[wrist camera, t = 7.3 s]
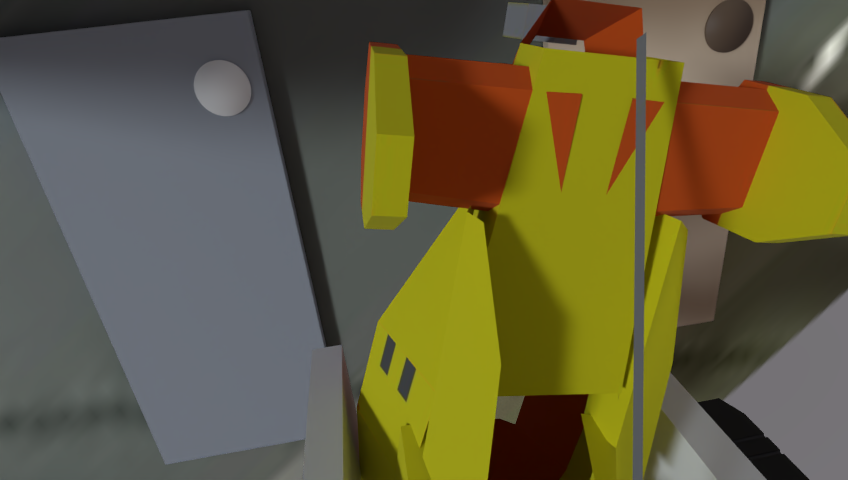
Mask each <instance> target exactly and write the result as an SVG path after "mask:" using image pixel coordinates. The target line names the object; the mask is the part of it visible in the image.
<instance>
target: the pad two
mask: <svg viewBox="0 0 848 480" xmlns="http://www.w3.org/2000/svg"><path fill="white" fill-rule="evenodd" d="M550 1H551V0H543V5H548V4H549V2H550ZM583 1H591V2H599V3H607V4H615V5H623V6H631V7H639V8H642V17H643V34H645V33H646V56H647V57H653V58H659V59H665V60H671V61H677V62H684V68H683V74H682V79H681V81H682V82H693V83H703V84H714V85H724V86H735V87H739V86H740V84H741V83H742V82H743V81H744V80H753V77H754V71H755V65H756V59H757V53H758V47H759V41H760V35H761V28H762V22H763V16H764V10H765V4H766V0H583ZM543 48H550V49H560V50H569V51H579V52H585V47H584V41H582V40H577V44H576V45H570V44H559V43H549V42H543ZM671 217H673V218H676V219H678V220H681V221H682V222H683V224H684V225H685V227H686V228H687V229H688V236H687V244H686V253H685V261H684V270H683V279H682V287H681V296H680V304H679V313H678V321H677V327H680V326H686V325H692V324H698V323H703V322H709V321H714V316H715V310H716V303H717V297H718V291H719V285H720V279H721V273H722V267H723V261H724V255H725V248H726V242H727V236H728V230H727V229H725V228H723V227H720V226H718V225H716V224H714V223H711V222H709V221H707V220H705V219H703V218H702V215H687V216H671Z"/></svg>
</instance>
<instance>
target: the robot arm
mask: <svg viewBox="0 0 848 480" xmlns="http://www.w3.org/2000/svg"><path fill="white" fill-rule="evenodd" d="M625 415H626V414H625ZM302 480H361V472H360V463H359V443H358V423H357V413H356V408H355V404H354V399H353V394H352V390H351V385H350V380H349V376H348V371H347V366H346V362H345V357H344V352H343V348H342V345H337V346H331V347H325V348H320V349H314V350H312V360H311V373H310V386H309V400H308V413H307V426H306V439H305V453H304V466H303V479H302ZM643 480H809V479H808V478H807V477H806V476H805V475H804V474H803V473H802V472H801V471H800V470H799V469H798V468H797V467H796V466H795V465H794V464H793V463H792V462H791V461H790V460H789V459H788V458H787V456H786V455H784V454H781V453H780V449H778V447H777V446H776V445H775V444H774V443H773V442H772V441H771V440H770V439H769V438H768V437H765V436H764V433H763V432H762V431H761V430H760V429H759V428H758V427H757V426H756V425H755V424H754V423H753V422H752V421H751V420H750V419H749V418H748V417H747V416H746V415H745V414H744V413H742V412H741V411H739V410H737V409H736V408H734V407H732V406H731V405H729V404H727V403H726V402H724V401H722V400H721V399H719V398H718V399H713V400H708V401H703V402H698V403H697V402H696V400H695V399H694V398H693V397H692V396H691V395H690V394H689V393H688V391H687V390H686V389H685V388H684V387H683V386H682V385H681V384H680V383H679V381H678V380H677V379H676V378H675V377H674V376H673V375H672V374H671V373H670V375H669V379H668V383H667V387H666V391H665V395H664V399H663V403H662V407H661V411H660V415H659V419H658V423H657V427H656V431H655V435H654V439H653V443H652V447H651V451H650V455H649V459H648V463H647V466H646V470H645V474H644V478H643Z"/></svg>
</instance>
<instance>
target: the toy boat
mask: <svg viewBox="0 0 848 480" xmlns="http://www.w3.org/2000/svg"><path fill="white" fill-rule="evenodd" d="M503 37H509V38H516V39H523V40H522V42H521V43H520V46H519V48H518V51H517V54H516V56H515V59H514V61H513V64H505V63H489V62H479V61H469V60H458V59H448V58H438V57H428V56H418V55H408V54H405V53H404V52H403V51H402V49H401V48H400V47H399V46H398V45H397V44H388V43H378V42H369V49H368V61H367V72H366V84H365V98H364V117H363V136H362V155H361V208H362V215H363V222H364V229H390V230H394V229H395V228H396V227H397V226H398V225H399V224H400V223H401V222H402V221H403V220H404V219H406V218H407V211H408V201H412V202H419V203H427V204H435V205H443V206H451V207H459V208H458V209H457V211H456V212H455V214H454V215H453V216H452V218H451V219H450V221H449V222H448V223H447V225H446V226H445V228H444V229H443V231H442V232H441V233H440V235H439V236H438V238H437V239H436V240H435V242H434V243H433V245H432V246H431V247H430V249H429V250H428V252H427V253H426V254H425V256H424V257H423V259H422V260H421V262H420V263H419V264H418V266H417V267H416V269H415V270H414V271H413V273H412V274H411V276H410V277H409V278H408V280H407V281H406V283H405V284H404V286H403V287H402V288H401V290H400V291H399V293H398V294H397V295H396V297H395V298H394V300H393V301H392V302H391V304H390V305H389V307H388V308H387V309H386V311H385V312H384V314H383V315H382V317H381V318H380V319H379V321H378V324H377V328H376V332H375V336H374V340H373V344H372V348H371V352H370V356H369V360H368V364H367V368H366V372H365V376H364V380H363V384H362V388H361V392H360V396H359V400H358V405H357V423H358V443H359V463H360V472H361V480H643V478H644V474H645V470H646V466H647V463H648V459H649V455H650V451H651V447H652V443H653V439H654V435H655V431H656V427H657V423H658V419H659V415H660V411H661V407H662V403H663V399H664V395H665V391H666V387H667V383H668V379H669V375H670V371H671V367H672V363H673V355H674V347H675V338H676V330H677V321H678V313H679V304H680V296H681V287H682V279H683V270H684V261H685V253H686V244H687V236H688V229H687V228H686V227H685V225H684V224H683V222H682V221H681V220H678V219H676V218H673V217H671V216H687V215H702V218H703V219H705V220H707V221H709V222H711V223H714V224H716V225H718V226H720V227H723V228H725V229H727V230H729V231H731V232H734V233H736V234H738V235H740V236H742V237H745V238H747V239H749V240H751V241H753V242H758V243H784V242H794V241H803V240H813V239H823V238H833V237H842V236H848V118H847V117H846V116H845V114H844V113H843V112H842V111H841V109H840V108H839V107H838V106H837V104H836V103H835V102H834V100H833V99H832V98H831V97H827V96H823V95H819V94H815V93H811V92H807V91H802V90H798V89H794V88H790V87H786V86H782V85H777V84H773V83H769V82H763V81H754V80H744V81H743V82H742V83H741V84H740V86H739V87H735V86H724V85H714V84H703V83H693V82H682V81H681V79H682V74H683V68H684V62H677V61H671V60H665V59H659V58H653V57H647V56H646V33H645V34H643V17H642V8H639V7H631V6H623V5H615V4H607V3H599V2H591V1H583V0H551V1H550V2H549V4H548V5H539V4H529V3H513V2H508V5H507V12H506V18H505V25H504V31H503ZM577 40H582V41H584V47H585V52H579V51H569V50H560V49H550V48H543V47H538V46H533V45H530V43H531V42H532V41H541V42H549V43H559V44H570V45H576V44H577ZM497 396H525V397H524V400H523V403H522V406H521V409H520V412H519V415H518V418H517V421H516V424H512V423H510V422H507V421H504V420H501V419H495V413H496V404H497ZM625 414H626V415H625Z"/></svg>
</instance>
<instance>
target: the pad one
mask: <svg viewBox="0 0 848 480" xmlns="http://www.w3.org/2000/svg"><path fill="white" fill-rule="evenodd" d="M0 92H1V95H2V97H3V99H4V101H5V104H6V106H7V108H8V110H9V113H10V115H11V117H12V119H13V122H14V124H15V126H16V129H17V131H18V133H19V135H20V138H21V140H22V142H23V144H24V147H25V149H26V151H27V153H28V156H29V158H30V160H31V162H32V165H33V167H34V169H35V171H36V174H37V176H38V178H39V180H40V183H41V185H42V187H43V189H44V192H45V194H46V196H47V198H48V201H49V203H50V205H51V207H52V210H53V212H54V214H55V216H56V219H57V221H58V223H59V225H60V228H61V230H62V232H63V234H64V237H65V239H66V241H67V244H68V246H69V248H70V250H71V253H72V255H73V257H74V259H75V262H76V264H77V266H78V268H79V271H80V273H81V275H82V277H83V280H84V282H85V284H86V286H87V289H88V291H89V293H90V295H91V298H92V300H93V302H94V304H95V307H96V309H97V311H98V313H99V316H100V318H101V320H102V322H103V325H104V327H105V329H106V331H107V334H108V336H109V338H110V340H111V343H112V345H113V347H114V349H115V352H116V354H117V356H118V359H119V361H120V363H121V365H122V368H123V370H124V372H125V374H126V377H127V379H128V381H129V383H130V386H131V388H132V390H133V392H134V395H135V397H136V399H137V401H138V404H139V406H140V408H141V410H142V413H143V415H144V417H145V419H146V422H147V424H148V426H149V428H150V431H151V433H152V435H153V437H154V440H155V442H156V444H157V446H158V449H159V451H160V453H161V455H162V458H163V460H164V462H165V464H171V463H177V462H182V461H188V460H193V459H199V458H204V457H210V456H215V455H221V454H226V453H232V452H237V451H243V450H248V449H254V448H259V447H265V446H270V445H276V444H281V443H287V442H292V441H298V440H303V439H306V426H307V413H308V400H309V386H310V373H311V360H312V350H314V349H320V348H325V347H326V342H325V338H324V333H323V329H322V325H321V320H320V316H319V311H318V307H317V303H316V298H315V294H314V289H313V285H312V280H311V276H310V272H309V267H308V263H307V258H306V254H305V250H304V245H303V241H302V236H301V232H300V227H299V223H298V219H297V214H296V210H295V205H294V201H293V197H292V192H291V188H290V183H289V179H288V174H287V170H286V166H285V161H284V157H283V152H282V148H281V144H280V139H279V135H278V130H277V126H276V121H275V117H274V113H273V108H272V104H271V99H270V95H269V90H268V86H267V82H266V77H265V73H264V68H263V64H262V60H261V55H260V51H259V46H258V42H257V37H256V33H255V29H254V24H253V20H252V15H251V11H250V10H244V11H235V12H226V13H217V14H208V15H199V16H190V17H182V18H173V19H164V20H155V21H146V22H137V23H128V24H119V25H110V26H101V27H92V28H83V29H74V30H65V31H56V32H47V33H38V34H29V35H20V36H11V37H2V38H0Z"/></svg>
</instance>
